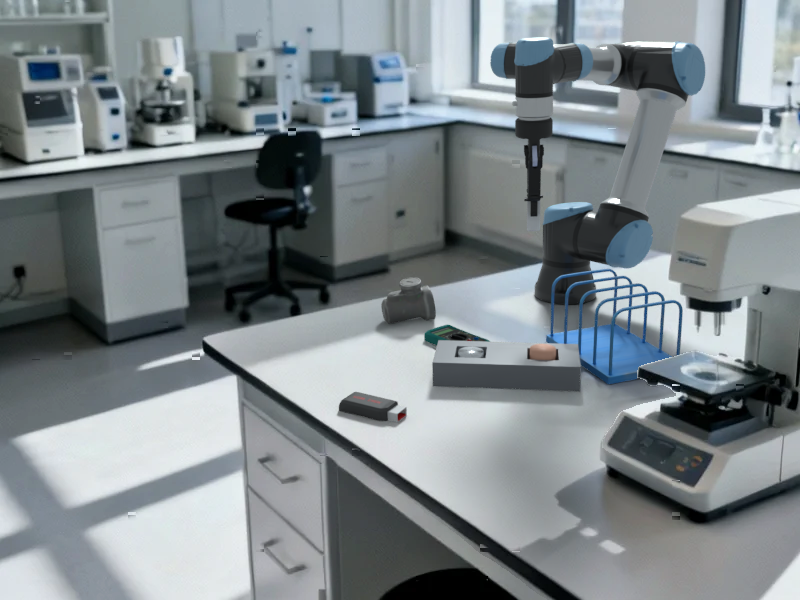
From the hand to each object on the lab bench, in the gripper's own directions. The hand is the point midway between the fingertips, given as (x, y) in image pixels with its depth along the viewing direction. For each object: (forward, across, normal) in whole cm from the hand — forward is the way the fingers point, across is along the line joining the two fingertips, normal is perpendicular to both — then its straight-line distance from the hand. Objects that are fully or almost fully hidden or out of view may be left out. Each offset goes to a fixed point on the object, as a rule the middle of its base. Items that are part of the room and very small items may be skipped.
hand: (533, 229), depth 195 cm
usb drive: (+23, +40, -30) cm, 55 cm away
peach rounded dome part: (+22, +22, +1) cm, 31 cm away
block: (+24, +22, -6) cm, 33 cm away
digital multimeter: (+25, +6, -16) cm, 30 cm away
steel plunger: (+22, +22, -13) cm, 34 cm away
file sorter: (+25, +10, +16) cm, 31 cm away
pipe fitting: (+24, -10, -28) cm, 39 cm away
